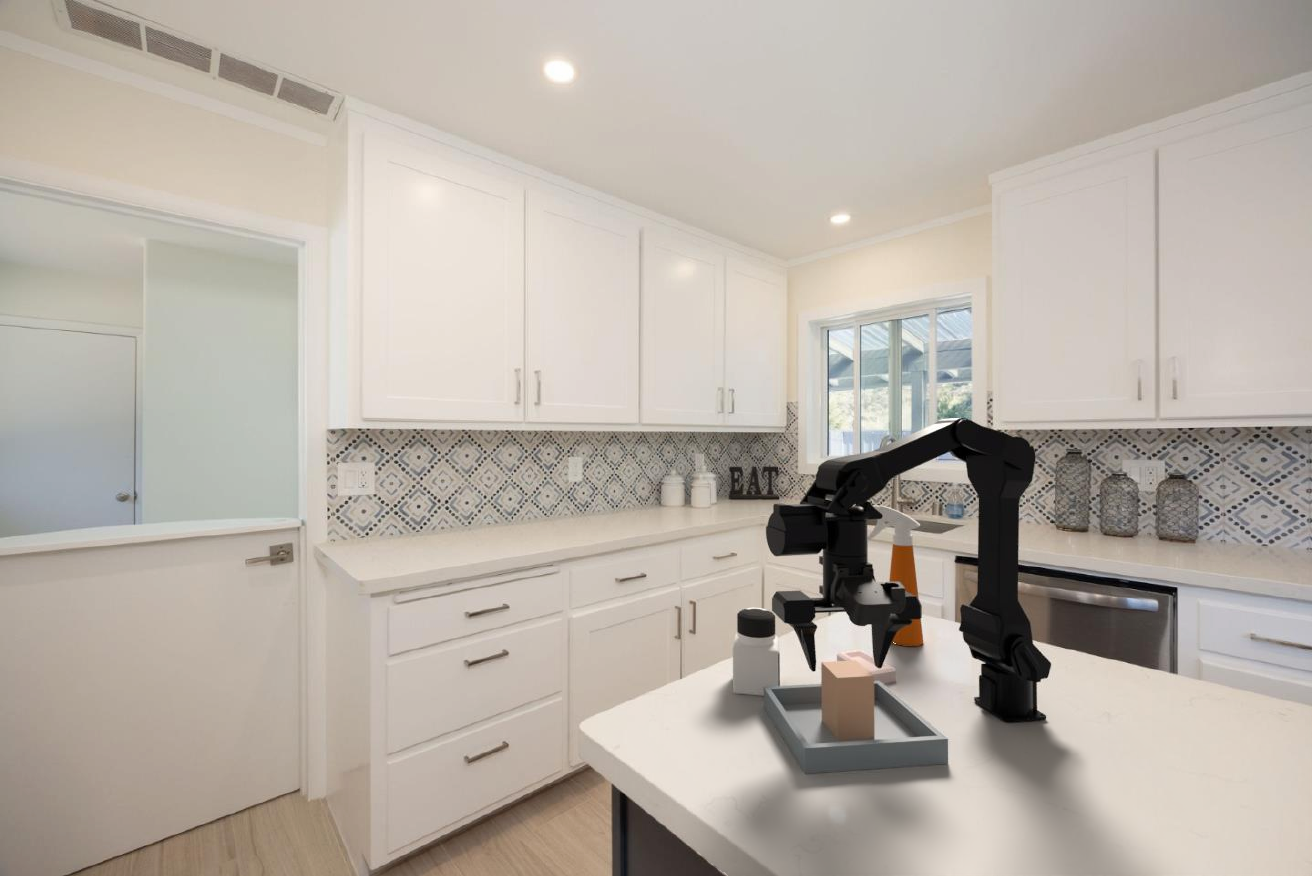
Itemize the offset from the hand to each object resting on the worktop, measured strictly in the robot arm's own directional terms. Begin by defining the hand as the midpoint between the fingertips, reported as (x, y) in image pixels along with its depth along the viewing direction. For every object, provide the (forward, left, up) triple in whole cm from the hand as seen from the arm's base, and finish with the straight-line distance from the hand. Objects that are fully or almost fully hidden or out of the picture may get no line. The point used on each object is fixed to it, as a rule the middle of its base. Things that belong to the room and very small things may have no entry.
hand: (845, 668), depth 72 cm
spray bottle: (-25, -32, -9) cm, 42 cm away
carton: (0, 0, -8) cm, 8 cm away
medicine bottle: (+8, -15, -9) cm, 19 cm away
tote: (0, 0, -9) cm, 9 cm away
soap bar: (-12, -18, -9) cm, 24 cm away
